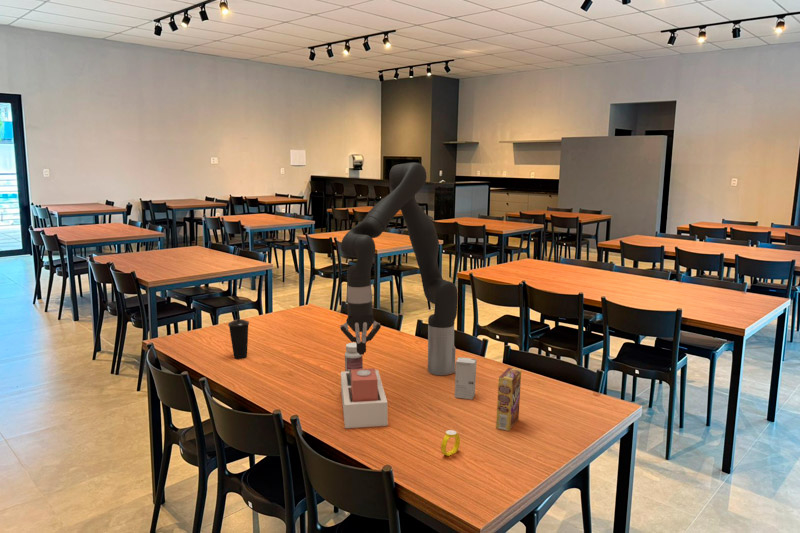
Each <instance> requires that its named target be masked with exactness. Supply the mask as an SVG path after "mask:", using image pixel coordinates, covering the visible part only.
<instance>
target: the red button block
mask: <svg viewBox="0 0 800 533" xmlns="http://www.w3.org/2000/svg"><path fill="white" fill-rule="evenodd" d="M375 370H376V369H375V368H374V367H371V368H363V369H351V393H352V400H353V402H363V401H378V379H377V376H376V372H375Z"/></svg>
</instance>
